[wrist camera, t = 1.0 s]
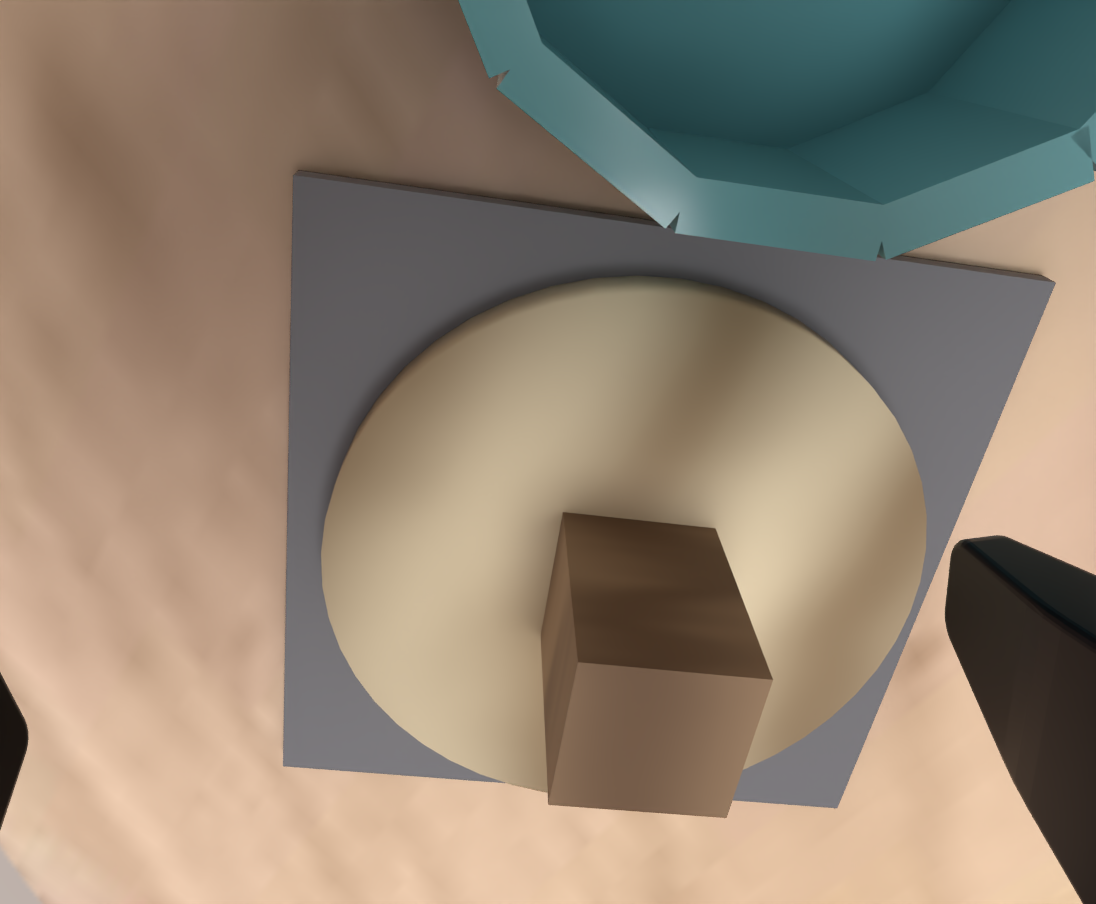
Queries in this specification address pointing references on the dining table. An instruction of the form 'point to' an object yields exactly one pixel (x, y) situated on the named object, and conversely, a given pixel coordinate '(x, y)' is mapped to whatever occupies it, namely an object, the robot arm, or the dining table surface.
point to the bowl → (809, 109)
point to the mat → (573, 255)
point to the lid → (623, 542)
